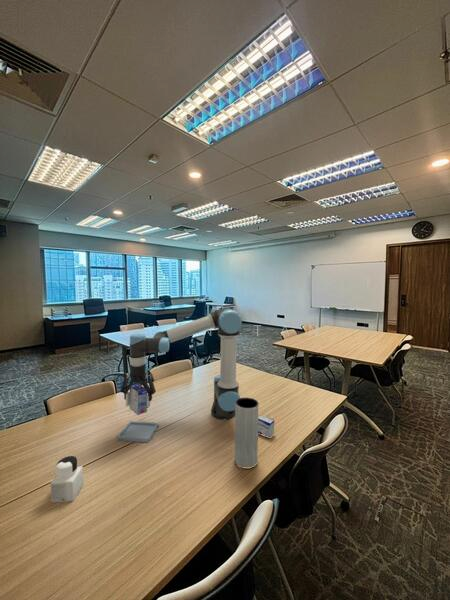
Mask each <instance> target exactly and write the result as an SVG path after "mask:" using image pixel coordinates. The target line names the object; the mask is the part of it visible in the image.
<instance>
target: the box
mask: <svg viewBox="0 0 450 600" xmlns="http://www.w3.org/2000/svg"><path fill="white" fill-rule="evenodd" d="M258 433H260V434H263V435H265V436H268V437H271V436H272V435H273V434H274V435H275V419H272V418H271V417H267V416H265V415H260V416H258ZM260 434H259V435H260Z"/></svg>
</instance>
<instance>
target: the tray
mask: <svg viewBox="0 0 450 600" xmlns="http://www.w3.org/2000/svg"><path fill="white" fill-rule="evenodd" d="M158 428H159V422H151V421H149V422H147V421H136V420H135V421H132V420H131V421H129V422H128V423H127V424H126V426H125V427H124V428H123V429H122V430H121V432H119V433H118V435H117V437H116V438H117V439H116V440H117V441H121V442H134V443H135V442H136V443H149V442H150V441H151V439H152V438H153V436H154V434H155V433H156V431H157V430H158Z"/></svg>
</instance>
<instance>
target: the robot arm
mask: <svg viewBox="0 0 450 600" xmlns="http://www.w3.org/2000/svg"><path fill="white" fill-rule="evenodd" d="M242 321H243V320H242V317H241V315H240V314H239V312H238V311H236V310H234V309H233V308H229V307H222V308H220V309H217V310H215V311H213V312H210V313H208V315H205V316H203V317H200V318H198V319H195V320H191V321H190V322H186V323H183V324H180V325H177V326H175V327H172V328H169V329H167V330H163V331H157V332H156V333H155V334H154V335H153V337H146V334H144V333H133V334H131V335H130V336H129V372H126V373H125V374H124V375H123V382H122V385H121V388H120V393H123V394H124V396H123V398H124V400H125V408H126V407H129V400H130V387H131V386H133V385H134V384H135V383H137V384H138V383H141V384H142V386H143V387H144V388H145V389H147V409H149V408H150V407H151V402H152V401H153V395H155V393H156V392H157V391H156V388H155V385H154V384H155V383H154V382H153V381H154V380H153V379H152V378H153V377H152V376H153V375H152V373H150V374H147V373H146V369H147V368H146V367H147V366H146V353H148V354H150V353H152V354H153V353H154V354H155V353H157V354H159V353H160V354H161V353H168V352H169V350H170V344H171V343H174V342H176V341H179V340H182V339H185V338H189V337H190V336H193V335H197V334H199V333H203V332H205V331H209V330H210V329H215V330H216V329H218V330H217V335H218V336H219V337H220V367H219V368H220V372H219V373H220V374H218V375H215V376H214V377H213V378H214V379H213V382H214V383H213V384H214V385H213V403H212V406H211V409H210V415H211V416H212V417H213V418H214V419H217V420H224V419H226V420H230V418H231V419H233V418H234V417H235V404H236V401H237V400H238V399H240V398H241V396H240V394H239V382H238V380H237V349H238V347H237V344H238V343H237V342H238V341H237V338H238V337H239V336H240V334H241V333H240V332H241V331H240V330H241V328H242V324H243V322H242ZM129 378H130V379H131V380H130V381H128V380H129ZM128 382H129V383H128ZM147 382H148V383H147ZM127 384H128V385H127ZM141 384H140V385H141ZM232 417H233V418H232ZM224 421H225V420H224Z"/></svg>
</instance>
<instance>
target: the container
mask: <svg viewBox="0 0 450 600" xmlns="http://www.w3.org/2000/svg"><path fill="white" fill-rule="evenodd" d="M55 465H56V466H55V469H56V475H55V476H54V478H53V479H52V480H51V482H50V499H51V500H50V501H51V503H64V502H74V501H75V499H76V498H77V496H78V494H79V493H80V491H81V489H82V487H83V486H84V467H83V466H82V465H81V466H78V458H77V456H74V455H69V456H66V457H63V458H61V459H60V460H59V461H58V462H57V463H56V464H55Z"/></svg>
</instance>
